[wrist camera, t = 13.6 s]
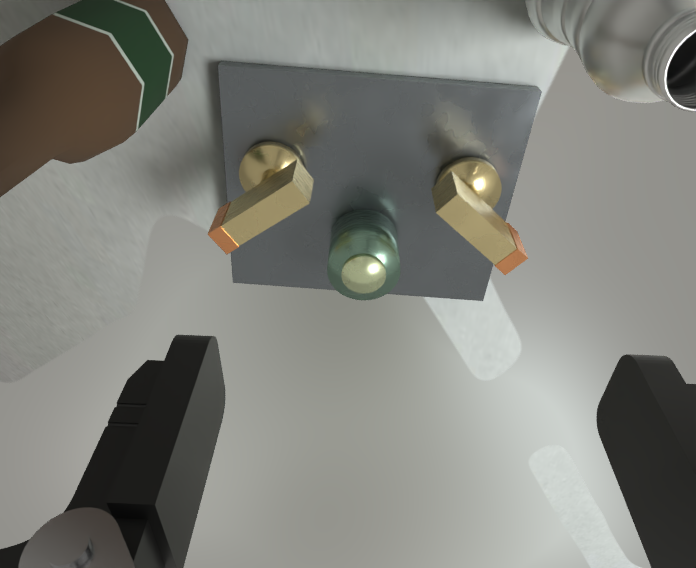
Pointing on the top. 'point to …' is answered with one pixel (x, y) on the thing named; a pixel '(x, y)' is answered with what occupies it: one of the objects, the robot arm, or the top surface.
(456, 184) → the knob
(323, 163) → the base plate
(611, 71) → the plastic bottle
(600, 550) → the top surface
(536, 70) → the top surface
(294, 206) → the knob
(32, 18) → the top surface
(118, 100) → the beer bottle
